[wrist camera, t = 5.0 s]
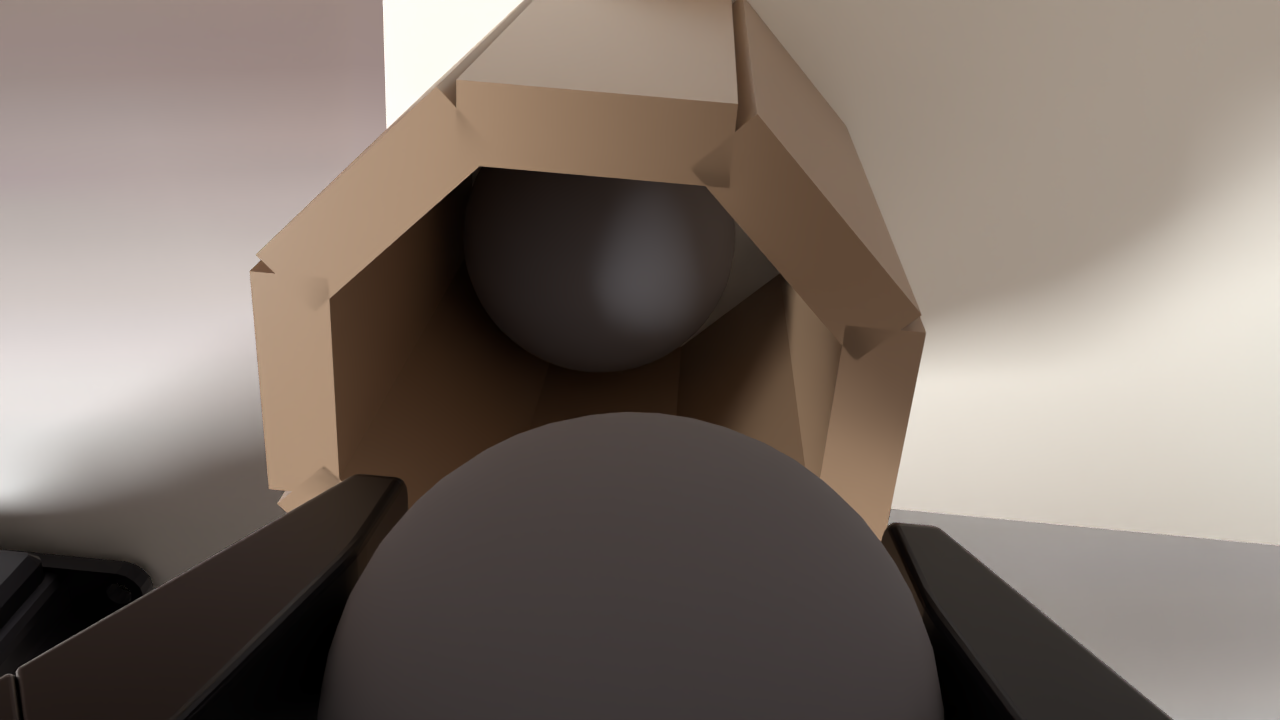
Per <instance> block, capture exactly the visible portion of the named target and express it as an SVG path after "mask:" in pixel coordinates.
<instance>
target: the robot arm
mask: <svg viewBox="0 0 1280 720" xmlns="http://www.w3.org/2000/svg"><path fill="white" fill-rule="evenodd" d="M407 511H408V492H407V487H406V485H405V483H404V481H403V480H402V479H401V478H397V477H390V476H379V475H368V474H355V475H353V476H351V477H349V478H347V479H345V480H343V481H342V482H340V483H338V484H337V485H335V486H333V487H331V488H330V489H328V490H326V491H324V492H323V493H321V494H319V495H317V496H316V497H314V498H312V499H310V500H309V501H307V502H305V503H304V504H302V505H300V506H298V507H297V508H295V509H293V510H291V511H290V512H288V513H286V514H284V515H283V516H281V517H279V518H277V519H276V520H274V521H272V522H270V523H269V524H267V525H265V526H264V527H262V528H260V529H258V530H257V531H255V532H253V533H251V534H250V535H248V536H246V537H244V538H243V539H241V540H239V541H237V542H236V543H234V544H232V545H231V546H229V547H227V548H225V549H224V550H222V551H220V552H218V553H217V554H215V555H213V556H211V557H210V558H208V559H206V560H204V561H203V562H201V563H199V564H198V565H196V566H194V567H192V568H191V569H189V570H187V571H185V572H184V573H182V574H180V575H178V576H177V577H175V578H173V579H171V580H170V581H168V582H166V583H165V584H163V585H161V586H159V587H158V588H156V589H154V590H153V585H152V582H151V579H150V577H149V575H148V574H147V573H146V572H145V571H144V570H143V569H142V568H140V567H138V566H137V565H135V564H132V563H128V562H122V561H112V560H102V559H92V558H81V557H71V556H61V555H51V554H40V553H30V552H20V551H10V550H0V720H317V714H318V707H319V700H320V694H321V687H322V681H323V676H324V671H325V666H326V661H327V656H328V652H329V649H330V646H331V643H332V640H333V638H334V635H335V632H336V629H337V626H338V623H339V621H340V618H341V616H342V613H343V610H344V608H345V605H346V603H347V600H348V598H349V595H350V593H351V592H352V590H353V588H354V587H355V585H356V583H357V581H358V580H359V578H360V576H361V574H362V573H363V571H364V569H365V568H366V566H367V564H368V563H369V561H370V559H371V558H372V556H373V554H374V553H375V551H376V549H377V548H378V546H379V544H380V543H381V542H382V540H383V539H384V538H385V537H386V536H387V534H388V533H389V532H390V531H391V530H392V528H393V527H394V526H395V525H396V524H397V522H398V521H399V520H400V519H401V518H402V517H403V516H404V514H405V513H406V512H407ZM881 543H882V544H883V546H884V547H885V549H886V550H887V552H888V553H889V555H890V556H891V557H892V559H893V560H894V562H895V564H896V565H897V567H898V569H899V571H900V573H901V574H902V576H903V578H904V580H905V582H906V583H907V585H908V587H909V589H910V590H911V592H912V595H913V597H914V600H915V602H916V605H917V607H918V610H919V612H920V615H921V617H922V620H923V623H924V626H925V628H926V631H927V634H928V637H929V639H930V642H931V645H932V648H933V652H934V657H935V662H936V668H937V673H938V679H939V684H940V690H941V695H942V701H943V706H944V720H1173V719H1172V718H1171V717H1169V716H1168V715H1167V714H1166V713H1165V712H1163V711H1162V710H1161V709H1160V708H1158V707H1157V706H1156V705H1155V704H1154V703H1152V702H1151V701H1150V700H1149V699H1147V698H1146V697H1145V696H1144V695H1143V694H1141V693H1140V692H1139V691H1138V690H1137V689H1135V688H1134V687H1133V686H1132V685H1130V684H1129V683H1128V682H1127V681H1126V680H1124V679H1123V678H1122V677H1121V676H1119V675H1118V674H1117V673H1116V672H1115V671H1113V670H1112V669H1111V668H1110V667H1108V666H1107V665H1106V664H1105V663H1104V662H1102V661H1101V660H1100V659H1099V658H1097V657H1096V656H1095V655H1094V654H1093V653H1091V652H1090V651H1089V650H1088V649H1087V648H1085V647H1084V646H1083V645H1082V644H1080V643H1079V642H1078V641H1077V640H1076V639H1074V638H1073V637H1072V636H1071V635H1069V634H1068V633H1067V632H1066V631H1065V630H1063V629H1062V628H1061V627H1060V626H1058V625H1057V624H1056V623H1055V622H1054V621H1052V620H1051V619H1050V618H1049V617H1048V616H1046V615H1045V614H1044V613H1043V612H1041V611H1040V610H1039V609H1038V608H1037V607H1035V606H1034V605H1033V604H1032V603H1030V602H1029V601H1028V600H1027V599H1026V598H1024V597H1023V596H1022V595H1021V594H1019V593H1018V592H1017V591H1016V590H1015V589H1013V588H1012V587H1011V586H1010V585H1009V584H1007V583H1006V582H1005V581H1004V580H1002V579H1001V578H1000V577H999V576H998V575H996V574H995V573H994V572H993V571H991V570H990V569H989V568H988V567H987V566H985V565H984V564H983V563H982V562H980V561H979V560H978V559H977V558H976V557H974V556H973V555H972V554H971V553H969V552H968V551H967V550H966V549H965V548H963V547H962V546H961V545H960V544H959V543H957V542H956V541H955V540H954V539H952V538H951V537H950V536H949V535H948V534H946V533H945V532H944V531H942V530H941V529H940V528H938V527H935V526H929V525H918V524H906V523H892V524H890V525H888V527H887V528H886V529H885V531H884V533H883V536H882V540H881ZM117 583H118V584H121V585H124V586H125V587H126V588H128V589H129V590H130V592H129V591H126V590H123V589H122V588H121V587H119V586H118V584H117Z"/></svg>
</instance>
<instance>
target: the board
mask: <svg viewBox="0 0 1280 720" xmlns="http://www.w3.org/2000/svg"><path fill="white" fill-rule="evenodd" d="M383 20H384V55H385V90H386V125H387V129H386V130H385V131H384V132H383V133H382V134H381V135H380V136H379V137H378V138H377V139H376V140H375V141H374V142H373V143H372V144H371V145H370V146H369V147H368V148H367V149H365V150H364V151H363V152H362V153H361V154H360V155H359V156H358V157H357V158H356V159H355V160H354V161H353V162H352V163H351V164H350V165H349V166H348V167H347V168H346V169H345V170H344V171H343V172H342V173H340V174H339V175H338V176H337V177H336V178H335V179H334V180H333V181H332V182H331V183H330V184H329V185H328V186H327V187H326V188H325V189H324V190H323V191H322V192H321V193H320V194H319V195H318V196H317V197H315V198H314V199H313V200H312V201H311V202H310V203H309V204H308V205H307V206H306V207H305V208H304V209H303V210H302V211H301V212H300V213H299V214H298V215H297V216H296V217H295V218H294V219H293V220H292V221H290V222H289V223H288V224H287V225H286V226H285V227H284V228H283V229H282V230H281V231H280V232H279V233H278V234H277V235H276V236H275V237H274V238H273V239H272V240H271V241H270V242H269V243H268V244H267V245H265V246H264V247H263V248H262V249H261V250H260V251H259V252H258V253H257V254H256V256H258V257H259V258H260V259H261V261H260V262H259V263H258V264H257V265H256V266H255V267H254V268H253V269H251V270H250V281H251V292H252V303H253V315H254V326H255V338H256V349H257V360H258V372H259V383H260V395H261V406H262V417H263V429H264V440H265V452H266V463H267V474H268V486H269V489H272V490H282V491H285V492H284V493H283V495H282V497H281V498H280V500H279V501H278V503H277V504H278V505H279V506H280V507H281V508H282V509H283V510H284V511H286V512H287V513H288V512H290V511H291V510H293V509H295V508H297V507H298V506H300V505H302V504H304V503H305V502H307V501H309V500H310V499H312V498H314V497H316V496H317V495H319V494H321V493H323V492H324V491H326V490H328V489H330V488H331V487H333V486H335V485H337V484H338V483H340V482H342V481H343V480H345V479H347V478H349V477H351V476H353V475H355V474H368V475H379V476H390V477H397V478H401V479H402V480H403V481H404V483H405V485H406V487H407V492H408V510H409V509H410V508H411V507H412V506H413V505H414V503H415V502H416V501H417V500H418V499H420V498H421V497H422V496H423V495H424V494H425V493H426V492H427V491H429V490H430V489H431V488H432V487H433V486H434V485H435V484H436V483H438V482H439V481H440V480H441V479H442V478H443V477H445V476H446V475H448V474H450V473H451V472H453V471H454V470H456V469H457V468H459V467H460V466H462V465H463V464H465V463H466V462H468V461H469V460H471V459H472V458H474V457H475V456H477V455H478V454H480V453H481V452H483V451H484V450H486V449H488V448H490V447H492V446H494V445H496V444H498V443H500V442H502V441H504V440H506V439H508V438H511V437H513V436H515V435H517V434H520V433H523V432H526V431H529V430H532V429H535V428H538V427H541V426H544V425H546V424H549V423H554V422H559V421H564V420H569V419H574V418H578V417H583V416H588V415H595V414H607V413H619V412H641V413H661V414H668V415H675V416H681V417H688V418H693V419H697V420H701V421H704V422H708V423H712V424H716V425H719V426H723V427H726V428H729V429H731V430H734V431H736V432H739V433H741V434H744V435H746V436H749V437H751V438H754V439H756V440H759V441H761V442H764V443H766V444H767V445H769V446H771V447H773V448H775V449H776V450H778V451H780V452H782V453H784V454H785V455H787V456H789V457H791V458H793V459H794V460H796V461H797V462H799V463H800V464H801V465H803V466H804V467H805V468H807V469H808V470H810V471H811V472H812V473H814V474H815V475H816V476H818V477H819V478H820V479H822V480H823V481H824V482H825V483H826V484H828V485H829V486H830V487H831V488H832V489H833V490H834V491H835V492H836V493H837V494H838V495H839V496H841V497H842V498H843V499H844V500H845V501H846V502H847V503H848V504H849V505H850V506H851V507H852V508H853V509H854V510H855V511H856V512H857V513H858V514H859V515H860V516H861V517H862V518H863V519H864V521H865V522H866V523H867V525H868V526H869V527H870V528H871V530H872V531H873V532H874V534H875V535H876V536H877V538H878V539H879V540H880V541H881V540H882V536H883V533H884V531H885V529H886V528H887V525H888V520H889V515H890V510H891V509H897V510H908V511H918V512H929V513H939V514H950V515H961V516H971V517H982V518H992V519H1003V520H1013V521H1024V522H1034V523H1045V524H1055V525H1066V526H1076V527H1087V528H1098V529H1108V530H1119V531H1129V532H1140V533H1150V534H1161V535H1171V536H1182V537H1192V538H1203V539H1213V540H1224V541H1235V542H1245V543H1256V544H1266V545H1277V546H1280V0H383ZM482 166H484V167H495V168H507V169H518V170H529V171H541V172H552V173H564V174H575V175H586V176H598V177H609V178H620V179H632V180H643V181H655V182H666V183H677V184H689V185H700V186H706V187H707V189H708V190H709V191H710V192H711V193H712V194H713V196H714V197H715V198H716V199H717V200H718V201H719V203H720V204H721V205H722V206H723V207H724V208H725V210H726V211H727V212H728V213H729V214H730V215H731V217H732V218H733V219H734V224H735V251H734V257H733V262H732V268H731V273H730V276H729V279H728V282H727V285H726V288H725V290H724V292H723V294H722V296H721V298H720V300H719V302H718V304H717V306H716V307H715V309H714V310H713V312H712V313H711V315H710V316H709V318H708V319H707V321H706V322H705V323H704V324H703V325H702V326H701V328H700V329H699V330H698V331H697V332H696V333H695V334H694V335H693V336H692V337H691V338H689V339H688V340H687V341H686V342H685V343H684V344H682V345H681V346H680V347H678V348H677V349H675V350H674V351H672V352H671V353H669V354H668V355H666V356H664V357H662V358H660V359H658V360H656V361H654V362H652V363H649V364H646V365H643V366H640V367H637V368H633V369H628V370H624V371H617V372H605V373H597V372H583V371H576V370H570V369H567V368H563V367H559V366H556V365H554V364H551V363H549V362H546V361H544V360H541V359H540V358H538V357H536V356H534V355H532V354H530V353H529V352H527V351H526V350H524V349H523V348H521V347H520V346H519V345H517V344H516V343H514V342H513V341H512V340H511V339H510V338H509V337H508V336H507V335H505V334H504V333H503V332H502V331H501V330H500V329H499V327H498V326H497V325H496V324H495V323H494V322H493V320H492V319H491V318H490V316H489V315H488V313H487V312H486V310H485V309H484V307H483V306H482V304H481V302H480V300H479V298H478V296H477V294H476V292H475V290H474V287H473V285H472V282H471V279H470V276H469V273H468V270H467V265H466V260H465V255H464V242H463V230H464V216H465V211H466V206H467V201H468V198H469V195H470V192H471V189H472V187H473V184H474V181H475V179H476V177H477V175H478V173H479V171H480V169H481V167H482Z"/></svg>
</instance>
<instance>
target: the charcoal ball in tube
mask: <svg viewBox="0 0 1280 720" xmlns="http://www.w3.org/2000/svg"><path fill="white" fill-rule="evenodd" d="M463 242H464V255H465V260H466V265H467V270H468V273H469V276H470V279H471V282H472V285H473V287H474V290H475V292H476V294H477V296H478V298H479V300H480V302H481V304H482V306H483V307H484V309H485V310H486V312H487V313H488V315H489V316H490V318H491V319H492V320H493V322H494V323H495V324H496V325H497V326H498V327H499V329H500V330H501V331H502V332H503V333H504V334H505V335H507V336H508V337H509V338H510V339H511V340H512V341H513V342H514V343H516V344H517V345H519V346H520V347H521V348H523V349H524V350H526V351H527V352H529V353H530V354H532V355H534V356H536V357H538V358H540V359H541V360H544V361H546V362H549V363H551V364H554V365H556V366H559V367H563V368H567V369H570V370H576V371H583V372H597V373H605V372H617V371H624V370H628V369H633V368H637V367H640V366H643V365H646V364H649V363H652V362H654V361H656V360H658V359H660V358H662V357H664V356H666V355H668V354H669V353H671V352H672V351H674V350H675V349H677V348H678V347H680V346H681V345H682V344H684V343H685V342H686V341H687V340H688V339H689V338H691V337H692V336H693V335H694V334H695V333H696V332H697V331H698V330H699V329H700V328H701V326H702V325H703V324H704V323H705V322H706V321H707V319H708V318H709V316H710V315H711V313H712V312H713V310H714V309H715V307H716V306H717V304H718V302H719V300H720V298H721V296H722V294H723V292H724V290H725V288H726V285H727V282H728V279H729V276H730V273H731V268H732V262H733V257H734V251H735V224H734V219H733V218H732V217H731V215H730V214H729V213H728V212H727V211H726V210H725V208H724V207H723V206H722V205H721V204H720V203H719V201H718V200H717V199H716V198H715V197H714V196H713V194H712V193H711V192H710V191H709V190H708V189H707V187H706V186H700V185H689V184H677V183H666V182H655V181H643V180H632V179H620V178H609V177H598V176H586V175H575V174H564V173H552V172H541V171H529V170H518V169H507V168H495V167H484V166H482V167H481V169H480V171H479V173H478V175H477V177H476V179H475V181H474V184H473V187H472V189H471V192H470V195H469V198H468V201H467V206H466V211H465V216H464V230H463Z"/></svg>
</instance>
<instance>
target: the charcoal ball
mask: <svg viewBox="0 0 1280 720" xmlns="http://www.w3.org/2000/svg"><path fill="white" fill-rule="evenodd" d="M317 720H944V706H943V701H942V695H941V690H940V684H939V679H938V673H937V668H936V662H935V657H934V652H933V648H932V645H931V642H930V639H929V637H928V634H927V631H926V628H925V626H924V623H923V620H922V617H921V615H920V612H919V610H918V607H917V605H916V602H915V600H914V597H913V595H912V592H911V590H910V589H909V587H908V585H907V583H906V582H905V580H904V578H903V576H902V574H901V573H900V571H899V569H898V567H897V565H896V564H895V562H894V560H893V559H892V557H891V556H890V555H889V553H888V552H887V550H886V549H885V547H884V546H883V544H882V543H881V541H880V540H879V539H878V538H877V536H876V535H875V534H874V532H873V531H872V530H871V528H870V527H869V526H868V525H867V523H866V522H865V521H864V519H863V518H862V517H861V516H860V515H859V514H858V513H857V512H856V511H855V510H854V509H853V508H852V507H851V506H850V505H849V504H848V503H847V502H846V501H845V500H844V499H843V498H842V497H841V496H839V495H838V494H837V493H836V492H835V491H834V490H833V489H832V488H831V487H830V486H829V485H828V484H826V483H825V482H824V481H823V480H822V479H820V478H819V477H818V476H816V475H815V474H814V473H812V472H811V471H810V470H808V469H807V468H805V467H804V466H803V465H801V464H800V463H799V462H797V461H796V460H794V459H793V458H791V457H789V456H787V455H785V454H784V453H782V452H780V451H778V450H776V449H775V448H773V447H771V446H769V445H767V444H766V443H764V442H761V441H759V440H756V439H754V438H751V437H749V436H746V435H744V434H741V433H739V432H736V431H734V430H731V429H729V428H726V427H723V426H719V425H716V424H712V423H708V422H704V421H701V420H697V419H693V418H688V417H681V416H675V415H668V414H661V413H641V412H619V413H607V414H595V415H588V416H583V417H578V418H574V419H569V420H564V421H559V422H554V423H549V424H546V425H544V426H541V427H538V428H535V429H532V430H529V431H526V432H523V433H520V434H517V435H515V436H513V437H511V438H508V439H506V440H504V441H502V442H500V443H498V444H496V445H494V446H492V447H490V448H488V449H486V450H484V451H483V452H481V453H480V454H478V455H477V456H475V457H474V458H472V459H471V460H469V461H468V462H466V463H465V464H463V465H462V466H460V467H459V468H457V469H456V470H454V471H453V472H451V473H450V474H448V475H446V476H445V477H443V478H442V479H441V480H440V481H439V482H438V483H436V484H435V485H434V486H433V487H432V488H431V489H430V490H429V491H427V492H426V493H425V494H424V495H423V496H422V497H421V498H420V499H418V500H417V501H416V502H415V503H414V505H413V506H412V507H411V508H410V509H409V510H408V511H407V512H406V513H405V514H404V516H403V517H402V518H401V519H400V520H399V521H398V522H397V524H396V525H395V526H394V527H393V528H392V530H391V531H390V532H389V533H388V534H387V536H386V537H385V538H384V539H383V540H382V542H381V543H380V544H379V546H378V548H377V549H376V551H375V553H374V554H373V556H372V558H371V559H370V561H369V563H368V564H367V566H366V568H365V569H364V571H363V573H362V574H361V576H360V578H359V580H358V581H357V583H356V585H355V587H354V588H353V590H352V592H351V593H350V595H349V598H348V600H347V603H346V605H345V608H344V610H343V613H342V616H341V618H340V621H339V623H338V626H337V629H336V632H335V635H334V638H333V640H332V643H331V646H330V649H329V652H328V656H327V661H326V666H325V671H324V676H323V681H322V687H321V694H320V700H319V707H318V714H317Z"/></svg>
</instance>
